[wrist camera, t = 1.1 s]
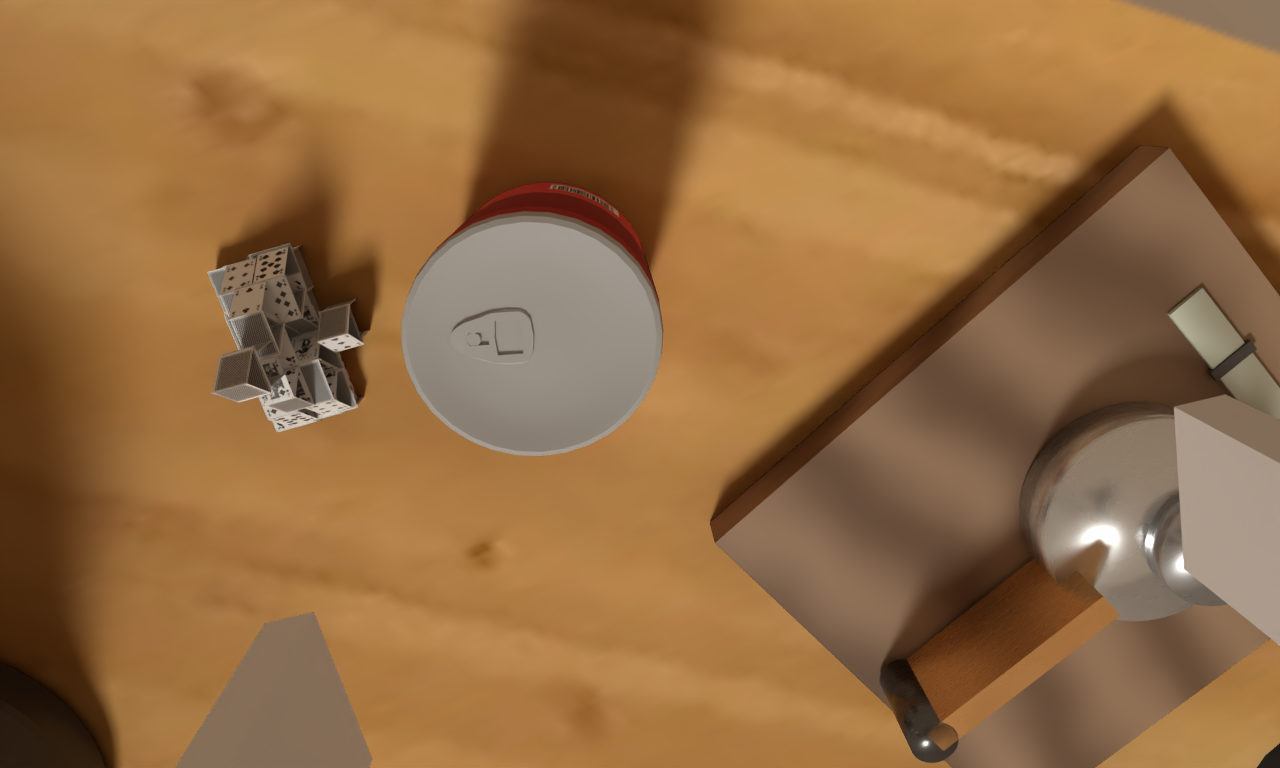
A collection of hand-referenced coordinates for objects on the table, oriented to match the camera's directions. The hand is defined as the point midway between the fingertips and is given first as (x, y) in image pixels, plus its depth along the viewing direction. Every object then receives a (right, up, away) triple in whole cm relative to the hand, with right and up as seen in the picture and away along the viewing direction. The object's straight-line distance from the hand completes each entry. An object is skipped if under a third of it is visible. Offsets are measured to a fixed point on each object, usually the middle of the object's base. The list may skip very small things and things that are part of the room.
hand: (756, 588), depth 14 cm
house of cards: (-14, +5, +25) cm, 29 cm away
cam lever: (+17, -6, +27) cm, 33 cm away
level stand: (+18, -3, +29) cm, 34 cm away
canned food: (-5, +8, +25) cm, 26 cm away
